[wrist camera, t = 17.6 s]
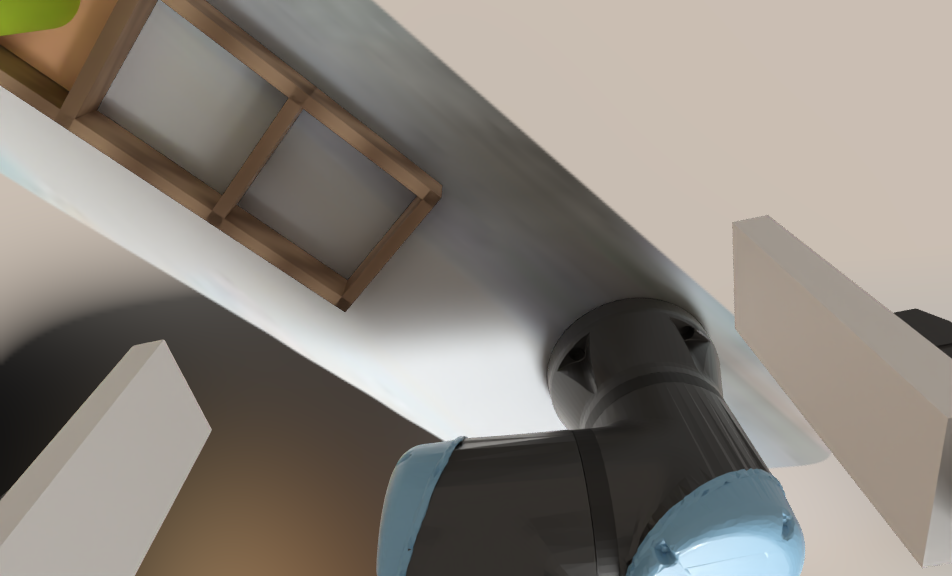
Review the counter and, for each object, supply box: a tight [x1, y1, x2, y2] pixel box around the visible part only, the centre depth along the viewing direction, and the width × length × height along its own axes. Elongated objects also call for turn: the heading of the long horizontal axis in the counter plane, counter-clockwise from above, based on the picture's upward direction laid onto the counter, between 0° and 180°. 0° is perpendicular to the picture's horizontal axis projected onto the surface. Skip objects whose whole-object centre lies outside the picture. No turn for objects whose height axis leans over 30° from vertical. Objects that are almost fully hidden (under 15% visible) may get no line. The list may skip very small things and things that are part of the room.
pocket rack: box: [0, 0, 442, 312], centre depth 44 cm, size 36×12×3 cm, turn 50°
